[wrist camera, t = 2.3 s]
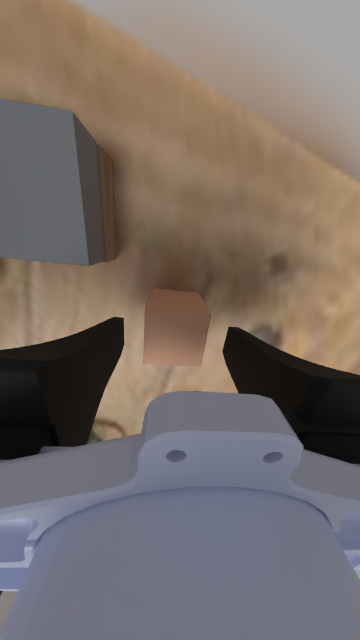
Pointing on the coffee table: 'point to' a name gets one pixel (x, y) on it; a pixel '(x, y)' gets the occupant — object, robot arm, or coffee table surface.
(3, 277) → the coffee table surface
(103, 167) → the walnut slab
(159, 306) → the terracotta block
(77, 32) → the coffee table surface
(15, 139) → the charcoal slab
